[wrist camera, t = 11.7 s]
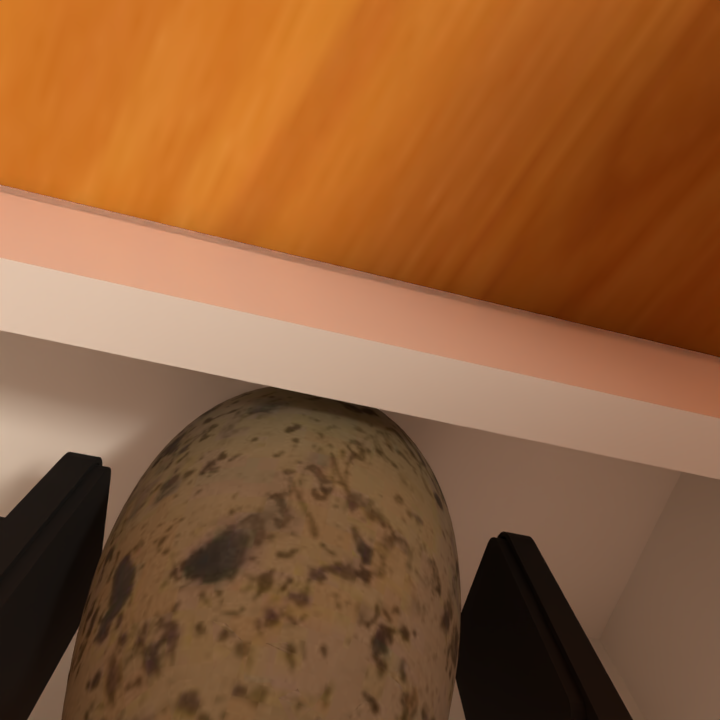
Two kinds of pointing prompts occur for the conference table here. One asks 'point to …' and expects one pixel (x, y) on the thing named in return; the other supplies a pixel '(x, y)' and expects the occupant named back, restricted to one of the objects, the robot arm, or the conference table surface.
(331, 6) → the conference table surface
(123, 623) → the decorative egg
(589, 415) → the open rectangular box
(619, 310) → the conference table surface
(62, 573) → the robot arm
